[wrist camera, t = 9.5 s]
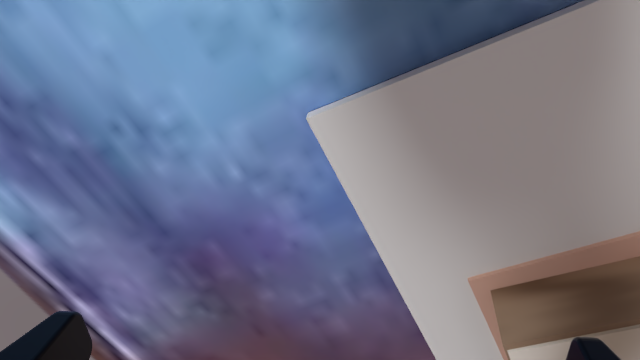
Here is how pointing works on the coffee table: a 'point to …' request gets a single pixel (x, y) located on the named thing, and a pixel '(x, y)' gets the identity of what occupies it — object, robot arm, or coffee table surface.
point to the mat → (497, 167)
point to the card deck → (572, 312)
